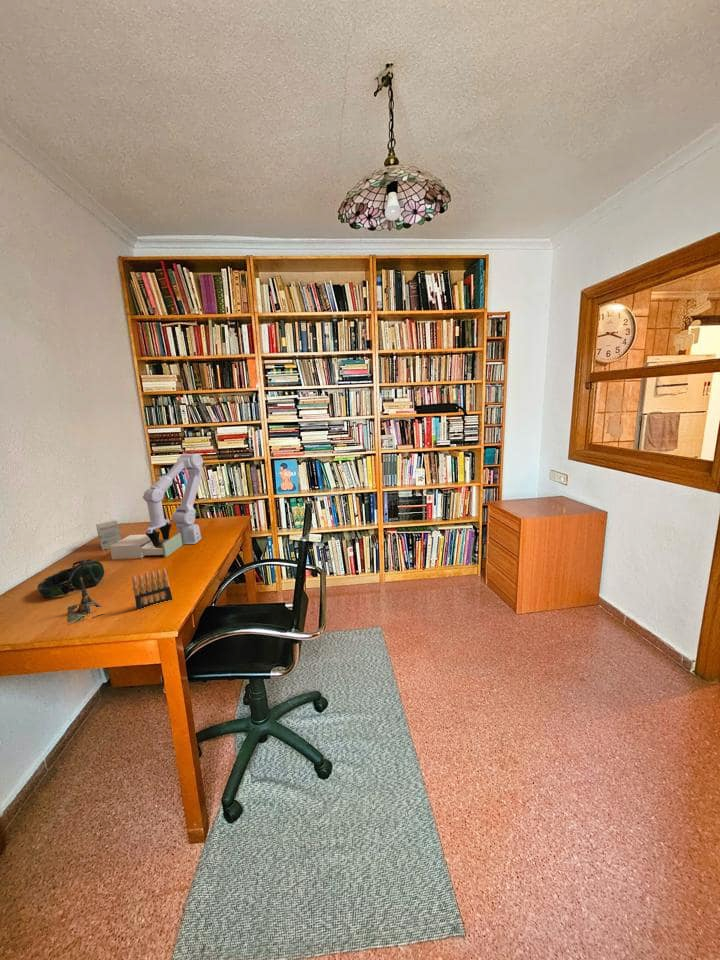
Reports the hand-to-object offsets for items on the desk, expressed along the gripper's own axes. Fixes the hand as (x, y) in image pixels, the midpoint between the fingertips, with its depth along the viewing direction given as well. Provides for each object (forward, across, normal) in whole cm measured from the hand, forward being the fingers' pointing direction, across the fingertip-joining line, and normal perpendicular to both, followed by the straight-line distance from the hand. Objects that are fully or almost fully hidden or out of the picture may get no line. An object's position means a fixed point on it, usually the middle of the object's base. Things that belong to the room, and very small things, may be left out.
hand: (161, 542), depth 170 cm
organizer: (+4, 0, -12) cm, 13 cm away
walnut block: (+3, 0, 0) cm, 3 cm away
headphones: (+5, +33, -15) cm, 37 cm away
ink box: (+5, -10, -32) cm, 34 cm away
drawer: (+4, 0, -1) cm, 4 cm away
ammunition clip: (+5, +46, +24) cm, 52 cm away
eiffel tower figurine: (+5, +49, +3) cm, 49 cm away
